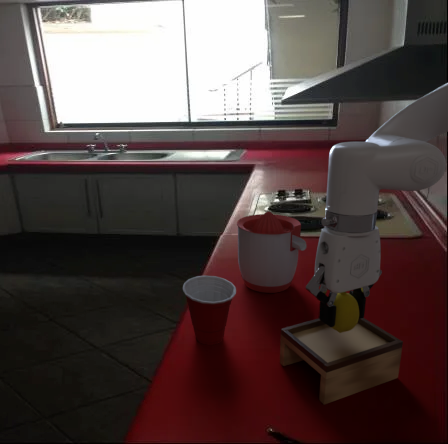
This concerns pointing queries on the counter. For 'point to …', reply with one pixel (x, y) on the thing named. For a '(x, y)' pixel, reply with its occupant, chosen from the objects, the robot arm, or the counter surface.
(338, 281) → the robot arm
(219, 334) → the plastic cup
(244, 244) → the citrus juicer
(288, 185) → the counter surface
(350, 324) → the lemon
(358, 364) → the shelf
